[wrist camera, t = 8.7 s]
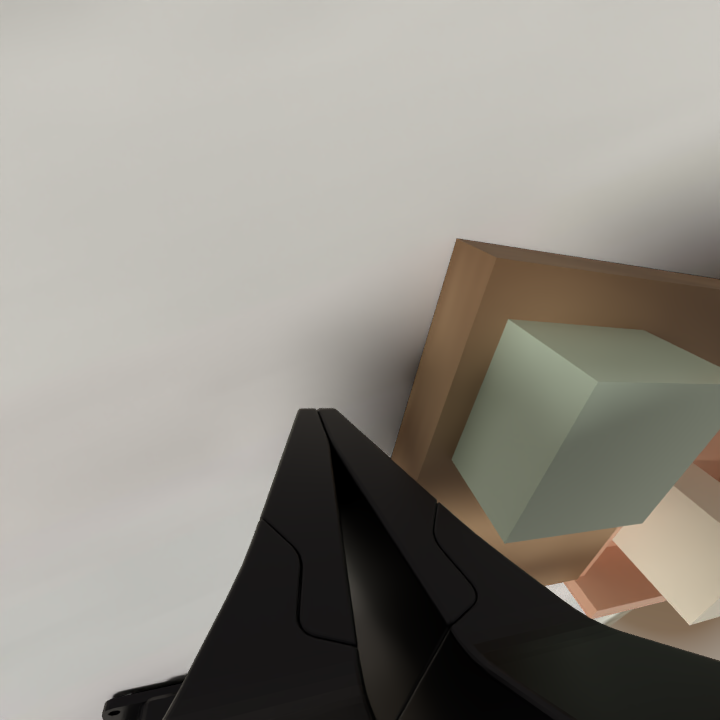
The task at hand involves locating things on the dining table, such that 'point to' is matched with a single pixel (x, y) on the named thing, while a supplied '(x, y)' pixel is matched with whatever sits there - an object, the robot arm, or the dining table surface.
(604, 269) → the board
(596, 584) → the tray
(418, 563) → the robot arm
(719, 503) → the ivory rectangular block
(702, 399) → the sage green square block
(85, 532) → the dining table surface
